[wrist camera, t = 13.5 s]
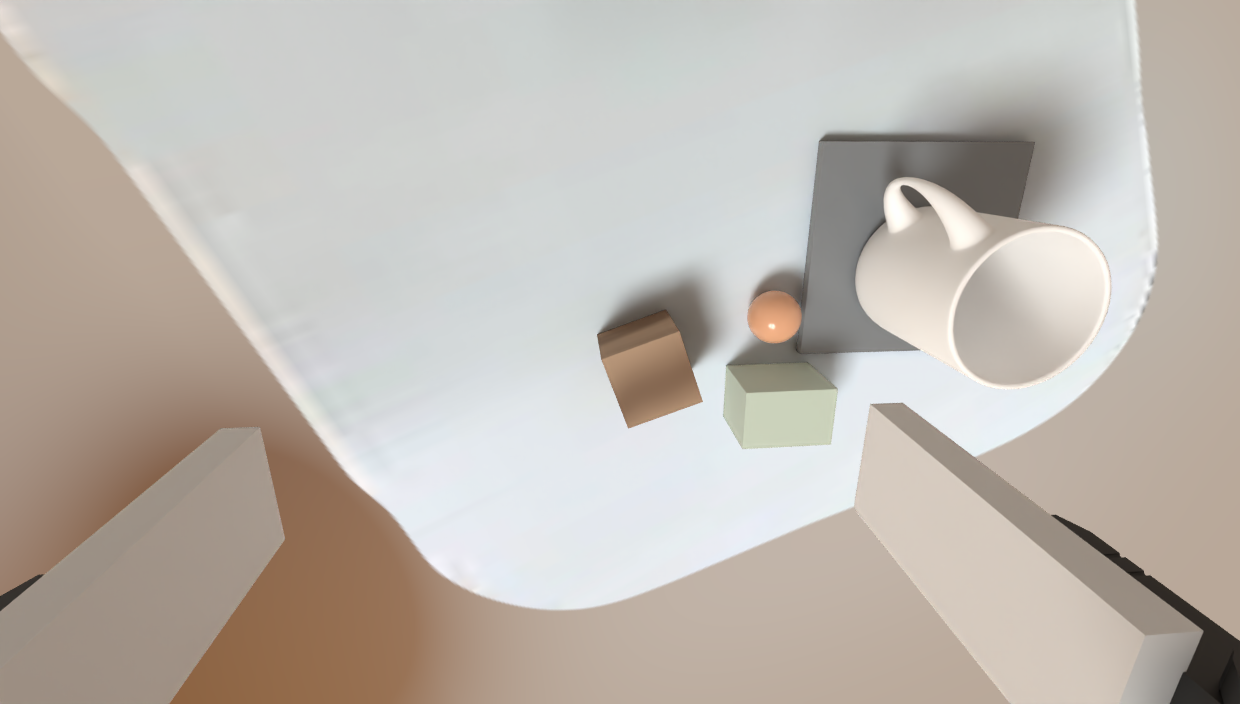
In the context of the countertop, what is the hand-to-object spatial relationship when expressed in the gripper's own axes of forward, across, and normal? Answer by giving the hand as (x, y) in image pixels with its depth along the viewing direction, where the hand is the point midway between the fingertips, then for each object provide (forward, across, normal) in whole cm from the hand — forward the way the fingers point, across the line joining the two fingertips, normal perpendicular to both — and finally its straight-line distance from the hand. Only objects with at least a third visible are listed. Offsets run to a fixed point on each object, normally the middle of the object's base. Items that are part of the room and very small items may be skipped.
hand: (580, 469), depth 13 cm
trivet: (+27, +23, 0) cm, 35 cm away
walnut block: (+27, +5, -7) cm, 28 cm away
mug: (+26, +22, 0) cm, 34 cm away
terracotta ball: (+25, +14, -4) cm, 29 cm away
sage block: (+27, +14, -10) cm, 32 cm away
